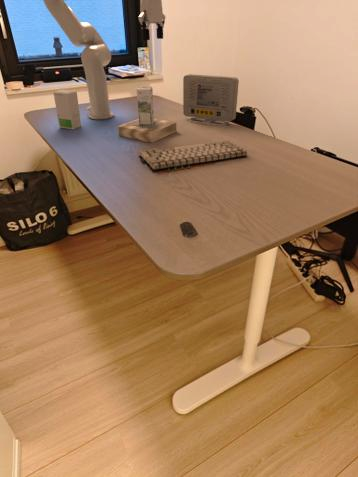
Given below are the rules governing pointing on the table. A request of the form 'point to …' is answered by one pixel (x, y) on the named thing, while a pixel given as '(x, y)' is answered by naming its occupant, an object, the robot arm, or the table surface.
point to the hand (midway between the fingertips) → (153, 39)
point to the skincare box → (67, 109)
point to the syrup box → (145, 105)
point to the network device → (210, 98)
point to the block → (188, 229)
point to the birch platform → (147, 130)
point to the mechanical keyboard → (190, 156)
